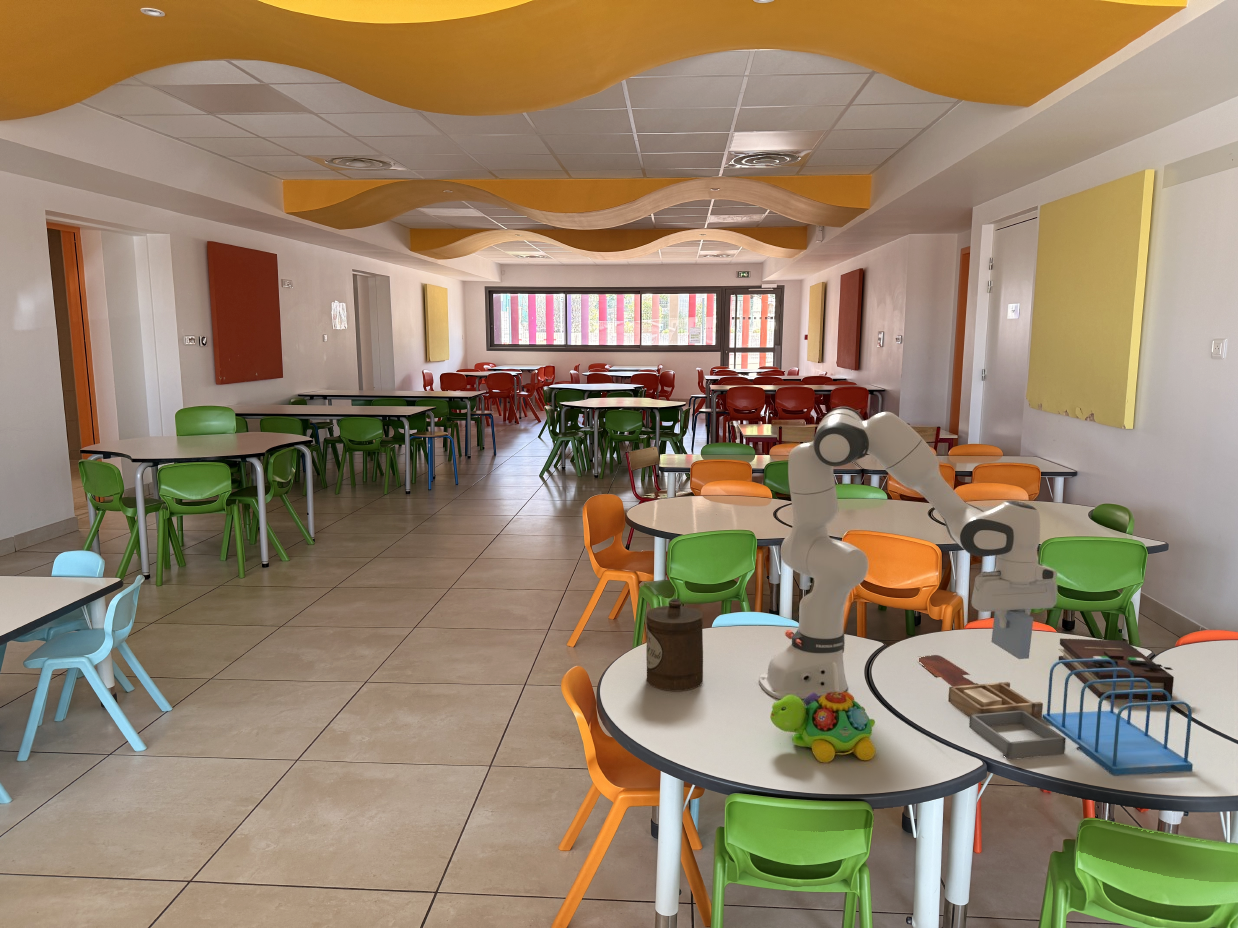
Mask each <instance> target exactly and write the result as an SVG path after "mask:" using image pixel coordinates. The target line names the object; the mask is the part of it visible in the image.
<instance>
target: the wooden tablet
mask: <svg viewBox="0 0 1238 928" xmlns="http://www.w3.org/2000/svg"><path fill="white" fill-rule="evenodd" d="M924 656H925V657H924ZM924 656H923V657H921V656H920V657H921V658H919V662H921V663H922V664H923V665H924V667H926V669H925V670H927V671H928V670H929V671H928V672H930V674H931V675H934V676H935V677H936V678H941V679H942V680H943V681H944V682H946V683H947V684H948V685H949V686H950V687H954V686H966V685H978V684H979V683H977V682H974V681H972V680H970V679H969V678H966V677H965V676H971V674H970V673H969V672H967V671H966V670H964V669H963V668H960V667H959V666H958V665H956V664H955V663H953V662H951V661H950V660H948V658H947V659H946V658H945V657H944V656H941V655H938V654H933V655H932V654H931V656H930V655H924ZM924 667H923V668H924Z"/></svg>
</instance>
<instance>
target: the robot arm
mask: <svg viewBox="0 0 1238 928" xmlns="http://www.w3.org/2000/svg"><path fill="white" fill-rule="evenodd" d="M867 455H869V456H871V457H873V459H875V460H876V461H877V462H878V464H879V465H881V467H882V468H883V469H884V470H885V472H887V473H888V474H889V475H890V476H891V477H892V478H894V480H895V481H896V482H898V483H900V484H901V485H902V486H904V487H905V488H907V489H911V490H914V491H915V492H917V493H919V494H920V495H921V496H922V497H924V499H925V500H926V501H927V502H928V503H929V504H930V505H931V506H932V507H933V508H934V510H935V511H936V512H937V513H938V514H939V515H940V517H941V518H942V519H943V522H944V524H945V527H946V530H947V533H948V535H949V537H950V539H951V540H952V541H953V542H955V544H958V545H959V546H960V548H962V549H963V550H964V551H965V552H966V553H968V554H969V555H972V556H975V557H978V558H979V557H981V558H982V557H983V558H984V557H993V556H996V557H995V558H996V559H995V569H994V570H993V571H982V572H980V573H978V574H977V576H976V577H975V579H974V586H973V591H972V596H971V606H972V607H973V608H974V609H975V610H977V611H979V612H981V613H984V612H985V613H987V612H995V611H996V614H997V616H998V618H999V619H1000V623H999V626H1000V627H1001V628H1009V627H1010V626H1009V624H1010V621H1008V620H1006V618H1005V616H1004V615H1006V614H1007V610H1020V611H1022V612H1024V613H1026V614H1028V615H1030V616H1031V611H1032V610H1036V609H1037V610H1038V609H1039V610H1042V609H1052V608H1054V607H1055V606H1056V604H1057V602H1058V601H1057V600H1058V583H1057V581H1056V579H1057V576H1058V572H1057V570H1055V569H1053V568H1051V567H1048V566H1046V565H1043V564H1041V563H1039V556H1038V547H1039V544H1040V542H1041V541H1040V540H1041V539H1040V538H1041V518H1040V512H1039V511H1038V509H1037V508H1036V507H1034V506H1033V505H1031V504H1028V503H1025V502H1022V501H1018V500H1010V499H1009V500H1005V501H1003V502H1002V503H1000V504H999V505H997V506H995V507H994V508H991V509H988V510H986V511H985V510H983V509H981V508H979V507H977V506H975V505H972V504H971V503H968V502H966V501H965V500H963V499H962V498H961V497H960V496H959V495H958V493H957V492H956V491H955V490H954V489H953V488H952V487H951V485H950V484H948V482H947V481H946V480H945V478H944V477H943V476H942V473H941V472H940V471H941V470H940V462H939V459H938V457H937V456H936V454H935V453H934V451H933V449H932V448H931V447H930V446H929V444H928V443H927V442H926V441H925V439H923V437H922V436H921V435H920V434H919V433H918V432H917V431H916V430H915V429H913V427H911V425H909V424H908V423H907V422H905V421H904V420H903V419H901V418H900V417H899V416H898V415H896V414H895V413H894V412H890V411H882V412H879V413H877V414H874V415H872V416H871V417H870V418H868V419H866V420H864V418H863V417H862V415H861V413H859V412H858V411H857V410H856V409H854V408H852V407H848V406H839V407H835V408H832V409H831V410H829V411H827V413H826V414H824V417H823V418H822V419H821V421H820V422H819V424H818V426H817V429H816V432H815V434H814V436H813V440H812V441H808V442H803V443H800V444H798V445H796V446H794V447H793V448H792V449H791V450H790V452H789V454H788V463H787V464H788V465H787V467H788V468H787V473H788V486H789V492H790V493H789V494H790V500H791V507H792V518H793V520H792V527H791V531H790V533H789V534H788V535H787V536H785V538H784V539H783V540H782V543H781V546H780V559H781V560H782V563H783V564H785V565H786V566H787V567H788V568H790V569H792V570H793V571H794V572H796V573H798V574H801V575H802V576H803V575H804V576H807V577H809V578H812V579H813V581H814V584H813V588H812V591H811V592H809V593H807V594H806V595H804V596H803V597H802V598H801V600H800V602H799V604H798V605H799V612H798V614H799V615H798V628H797V630H796V631H795V632H793V630H791V629H786V631H784V636H785V637H786V638H787V639H789V640H791V643H790V644H789V645H788V646H787V647H785V648H784V649H782V650H781V651H779V652H778V653H777V654H776V655H774V656H773V657H772V658H771V659H770V660H769V663H768V669H767V673H762V674H760V675H759V677H758V684H759V685H760V687H761V688H762V689H763V691H764V692H766V693H767V694H768V695H770V696H772V697H774V698H776V699H779V700H781V699H783V698H784V697H785V696H787V695H795V696H797V697H799V698H800V699H801V700H804V699H805V698H806V697H807V696H808V695H810V694H811V693H816V694H817V695H818V696H819V695H822V696H823V695H826V694H827V693H830V692H837V693H842V692H846V690H847V689H848V682H847V678H846V674H845V666H844V665H845V664H844V653H845V641H846V640H845V632H844V618H845V617H844V616H845V607H846V602H847V599H848V597H849V596H850V593H851V591H853V589H854V588H855V587H857V586H859V585H860V584H861V583H863V582H864V580H865V579H866V577H867V574H868V572H869V565H870V564H869V559H868V556H867V554H866V553H865V552H864V551H863V550H862V549H860V548H858V547H857V546H855V545H853V544H851V543H849V542H846V541H842V540H838V539H835V538H831V537H830V535H829V532H828V529H829V524H831V523H832V522H834V521H835V520H836V518H837V517H838V515H839V511H840V509H839V502H838V495H837V489H836V483H835V475H834V467H842V466H845V465H848V464H851V463H852V462H855V461H857V460H861V459H863V458H864V457H866V456H867Z"/></svg>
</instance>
